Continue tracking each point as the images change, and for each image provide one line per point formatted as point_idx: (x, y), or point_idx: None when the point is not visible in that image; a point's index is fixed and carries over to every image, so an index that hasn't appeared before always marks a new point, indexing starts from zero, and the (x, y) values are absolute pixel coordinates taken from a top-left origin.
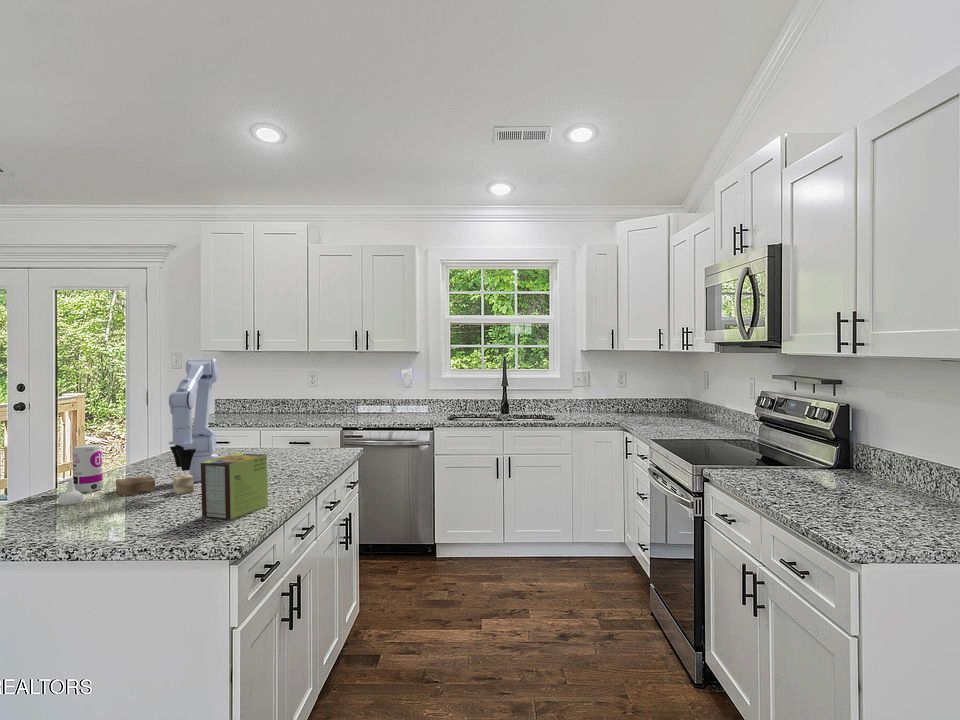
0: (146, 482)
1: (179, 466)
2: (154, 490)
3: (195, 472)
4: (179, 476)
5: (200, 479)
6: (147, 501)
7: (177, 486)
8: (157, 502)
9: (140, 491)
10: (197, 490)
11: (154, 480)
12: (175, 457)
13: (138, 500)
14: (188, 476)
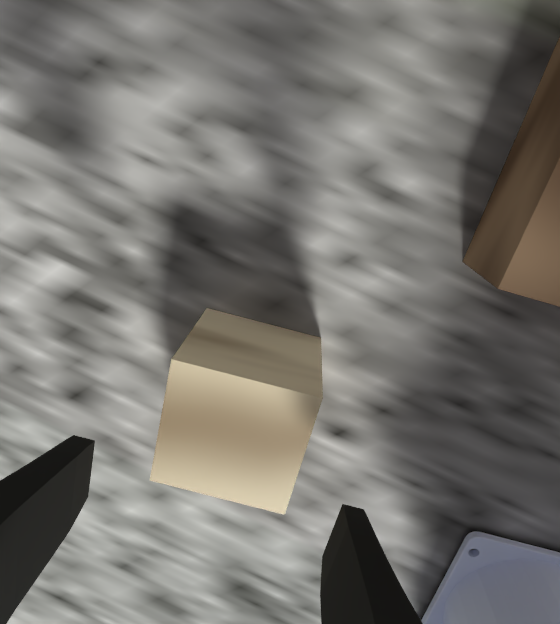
0: (529, 210)
1: (336, 528)
2: (467, 259)
3: (503, 621)
4: (281, 433)
5: (456, 584)
6: (156, 50)
7: (190, 335)
8: (56, 90)
9: (518, 150)
10: None
11: (507, 288)
12: (368, 614)
13: (260, 13)
14: (210, 471)
